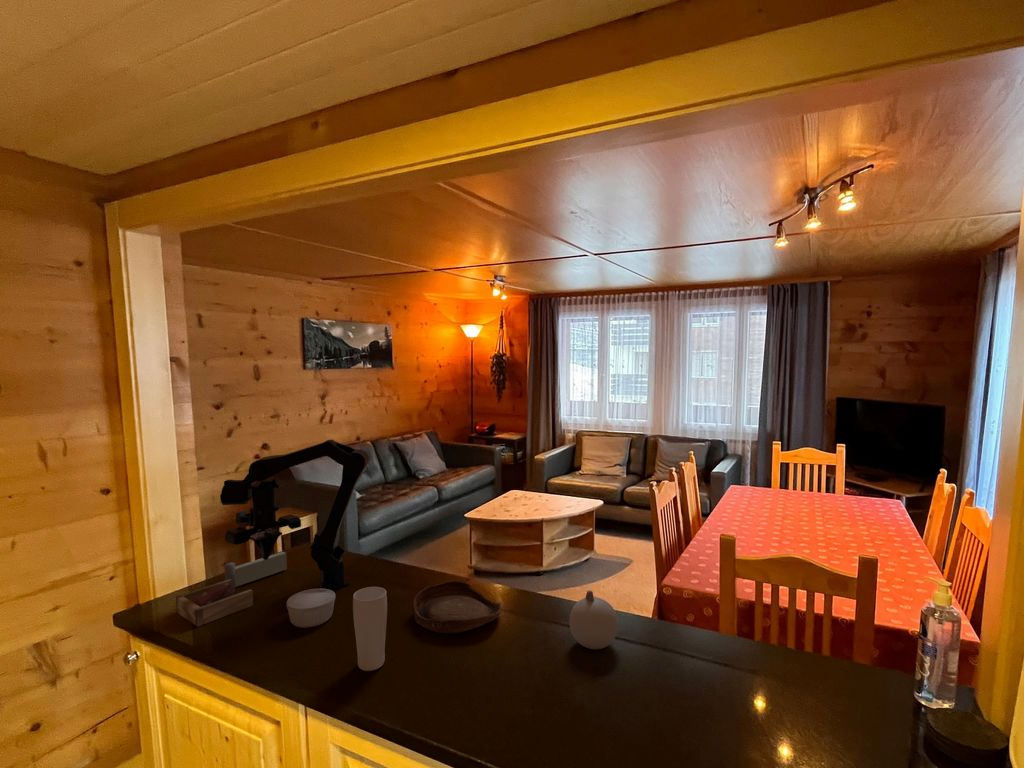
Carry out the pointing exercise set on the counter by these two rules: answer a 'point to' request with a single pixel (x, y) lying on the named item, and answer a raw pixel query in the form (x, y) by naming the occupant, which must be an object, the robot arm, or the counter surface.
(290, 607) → the ramekin
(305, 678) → the counter surface
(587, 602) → the ornament
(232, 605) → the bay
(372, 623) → the drinking glass
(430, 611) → the dark brown shallow dish
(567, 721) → the counter surface
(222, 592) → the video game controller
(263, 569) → the gate
